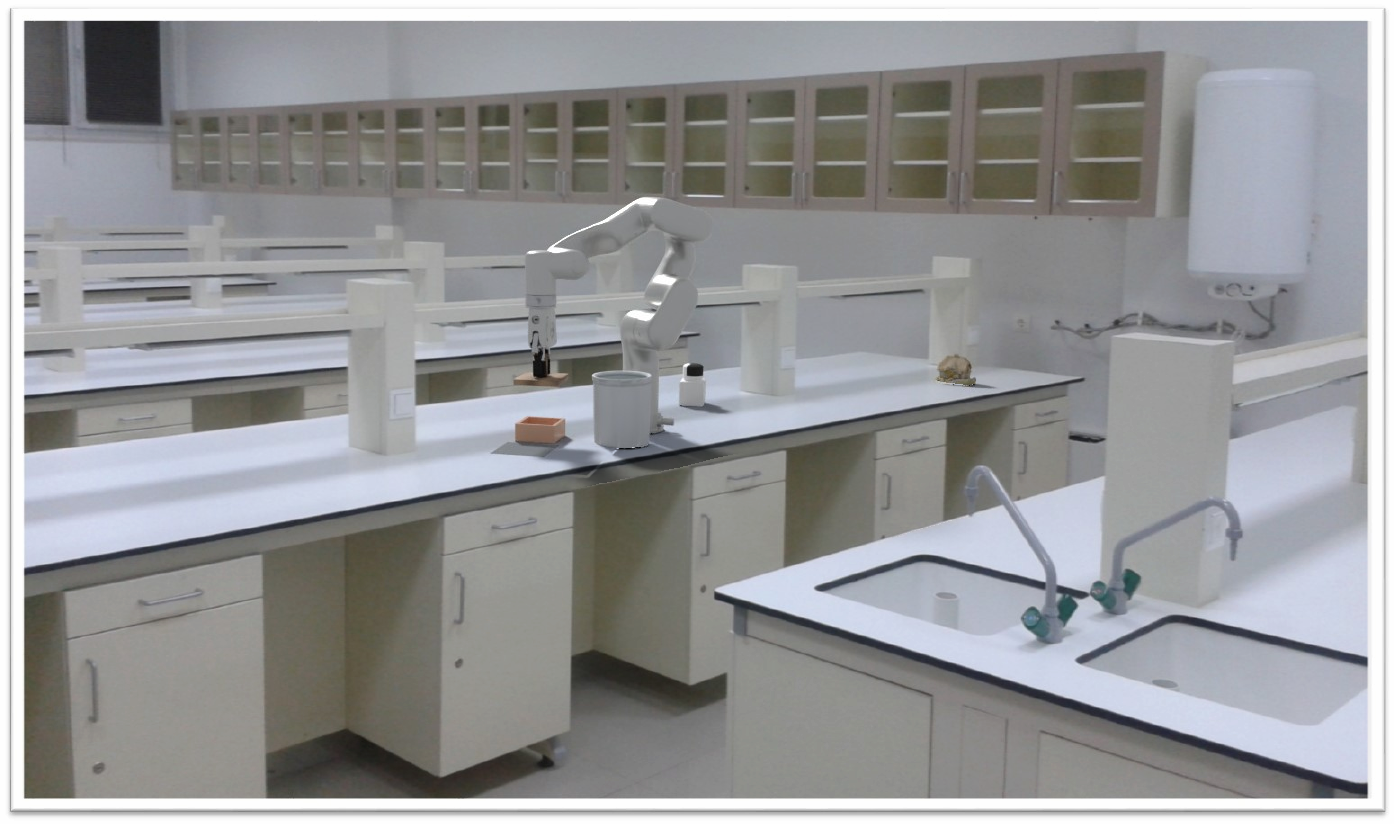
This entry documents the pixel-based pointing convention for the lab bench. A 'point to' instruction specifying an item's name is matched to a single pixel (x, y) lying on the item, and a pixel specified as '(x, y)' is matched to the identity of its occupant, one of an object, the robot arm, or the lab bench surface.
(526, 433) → the orange open box
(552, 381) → the lid
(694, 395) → the medicine bottle
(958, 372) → the ceramic model
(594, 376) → the utensil holder
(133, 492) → the lab bench surface
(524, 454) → the mat
